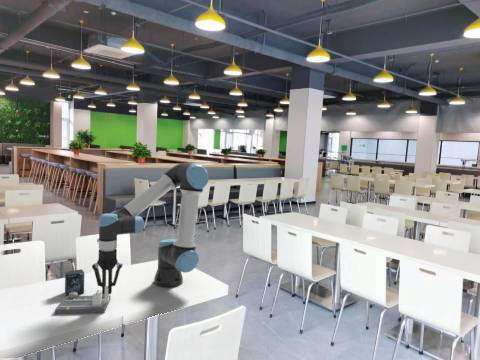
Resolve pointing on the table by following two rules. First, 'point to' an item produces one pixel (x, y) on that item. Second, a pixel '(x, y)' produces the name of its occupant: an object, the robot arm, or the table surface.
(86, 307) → the console
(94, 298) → the block
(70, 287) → the box
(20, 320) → the table surface
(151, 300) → the table surface
